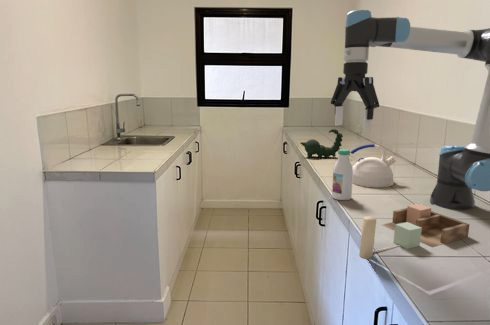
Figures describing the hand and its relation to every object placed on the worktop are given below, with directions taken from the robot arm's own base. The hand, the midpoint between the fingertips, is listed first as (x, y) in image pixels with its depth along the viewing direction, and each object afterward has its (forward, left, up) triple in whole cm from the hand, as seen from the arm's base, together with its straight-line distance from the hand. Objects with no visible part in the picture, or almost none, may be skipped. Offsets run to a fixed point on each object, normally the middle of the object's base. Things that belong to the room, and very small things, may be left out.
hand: (352, 127), depth 126 cm
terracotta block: (-15, +17, -31) cm, 39 cm away
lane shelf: (-12, +22, -32) cm, 40 cm away
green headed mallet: (+8, +26, -32) cm, 42 cm away
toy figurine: (-56, -88, -32) cm, 109 cm away
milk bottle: (-13, -18, -32) cm, 39 cm away
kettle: (-42, -31, -32) cm, 61 cm away
